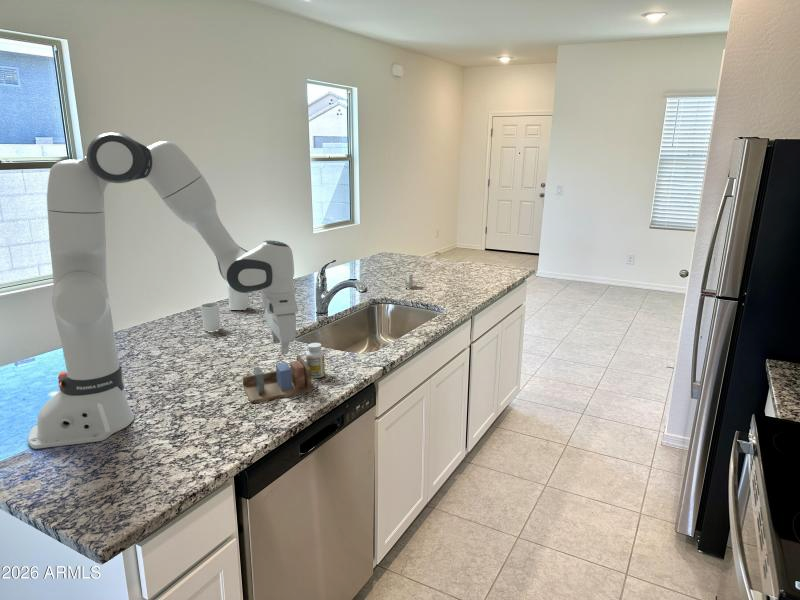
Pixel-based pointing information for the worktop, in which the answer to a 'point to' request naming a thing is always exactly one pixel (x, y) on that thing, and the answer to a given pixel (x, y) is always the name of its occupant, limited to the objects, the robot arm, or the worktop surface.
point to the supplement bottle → (315, 360)
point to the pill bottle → (237, 299)
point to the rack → (272, 390)
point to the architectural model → (409, 281)
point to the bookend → (259, 380)
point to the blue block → (284, 376)
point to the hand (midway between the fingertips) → (280, 348)
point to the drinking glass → (210, 316)
